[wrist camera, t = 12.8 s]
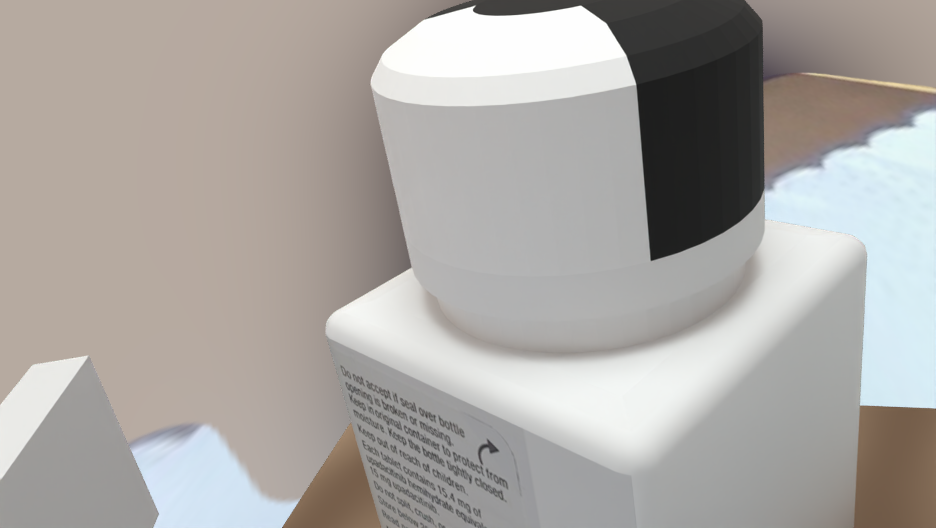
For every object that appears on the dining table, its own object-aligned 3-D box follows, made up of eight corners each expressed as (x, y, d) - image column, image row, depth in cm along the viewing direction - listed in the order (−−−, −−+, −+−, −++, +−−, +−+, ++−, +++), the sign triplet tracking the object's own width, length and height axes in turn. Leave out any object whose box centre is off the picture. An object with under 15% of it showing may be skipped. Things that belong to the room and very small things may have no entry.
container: (590, 420, 24) (531, -41, 19) (859, 534, 19) (891, -64, 13) (393, 591, 20) (235, 52, 14) (673, 804, 14) (599, 73, 9)
